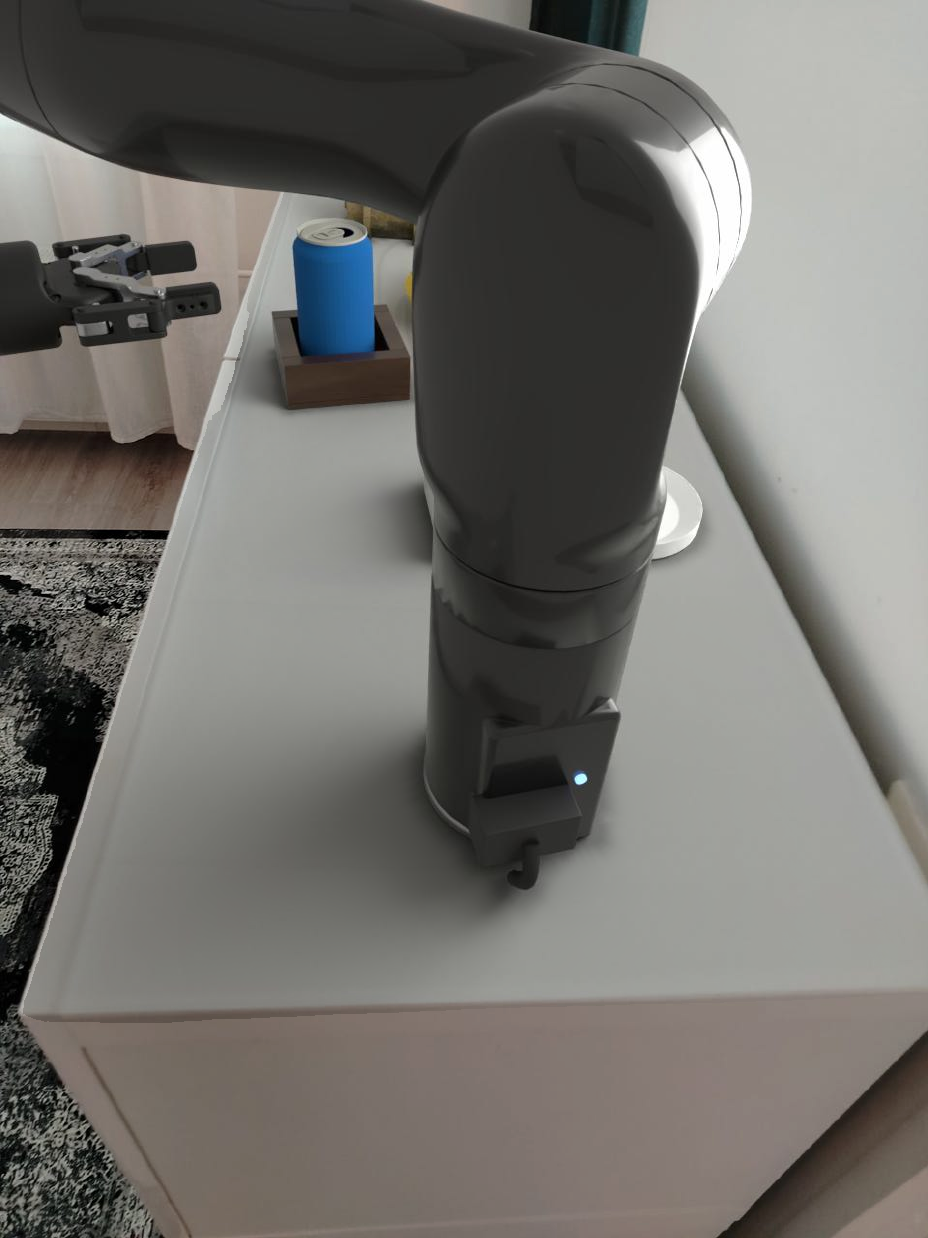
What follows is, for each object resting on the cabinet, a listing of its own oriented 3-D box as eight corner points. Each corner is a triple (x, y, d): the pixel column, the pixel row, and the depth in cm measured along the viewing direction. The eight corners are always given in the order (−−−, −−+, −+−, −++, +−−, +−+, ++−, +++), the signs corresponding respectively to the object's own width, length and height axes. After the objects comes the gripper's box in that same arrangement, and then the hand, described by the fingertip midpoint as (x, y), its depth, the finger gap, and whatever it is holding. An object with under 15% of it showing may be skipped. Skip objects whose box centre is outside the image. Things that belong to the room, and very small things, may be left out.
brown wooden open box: (410, 399, 78) (410, 356, 75) (288, 409, 76) (284, 366, 73) (387, 344, 85) (386, 303, 83) (275, 352, 83) (271, 310, 80)
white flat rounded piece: (422, 443, 67) (675, 433, 70) (421, 478, 69) (666, 467, 72) (447, 539, 59) (732, 523, 62) (444, 576, 61) (720, 558, 64)
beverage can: (389, 371, 80) (389, 233, 72) (331, 393, 77) (323, 251, 69) (345, 344, 83) (339, 210, 75) (287, 364, 80) (274, 226, 72)
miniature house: (461, 248, 104) (466, 140, 96) (340, 239, 104) (336, 131, 96) (468, 204, 115) (473, 104, 107) (359, 196, 115) (356, 95, 107)
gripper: (-32, 290, 57) (222, 260, 63) (-42, 215, 67) (179, 194, 72) (3, 396, 62) (235, 360, 68) (-11, 312, 72) (194, 286, 77)
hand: (206, 275), depth 70 cm, fingers open, 8 cm apart
